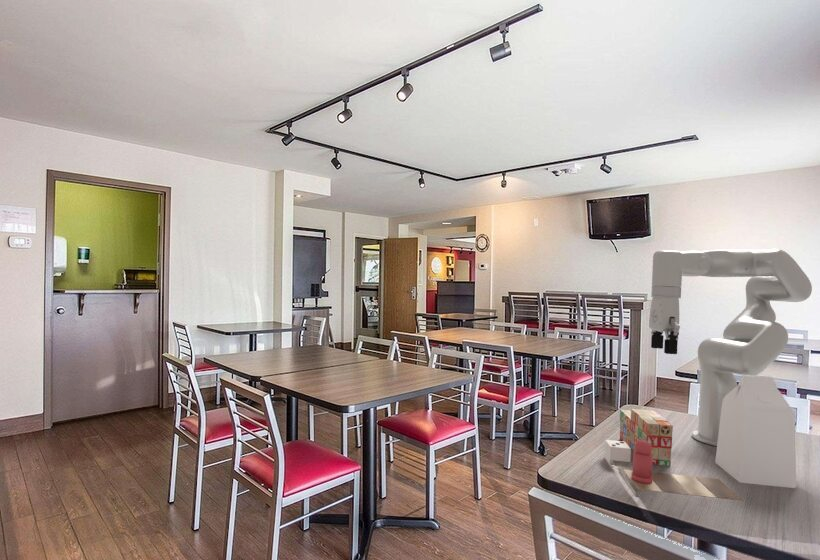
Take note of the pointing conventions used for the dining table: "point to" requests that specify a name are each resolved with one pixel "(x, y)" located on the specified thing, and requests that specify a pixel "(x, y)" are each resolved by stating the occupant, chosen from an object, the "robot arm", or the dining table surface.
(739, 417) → the milk
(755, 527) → the dining table surface
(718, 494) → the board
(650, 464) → the pawn
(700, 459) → the dining table surface
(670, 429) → the stack of blocks
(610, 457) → the die
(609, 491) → the dining table surface
